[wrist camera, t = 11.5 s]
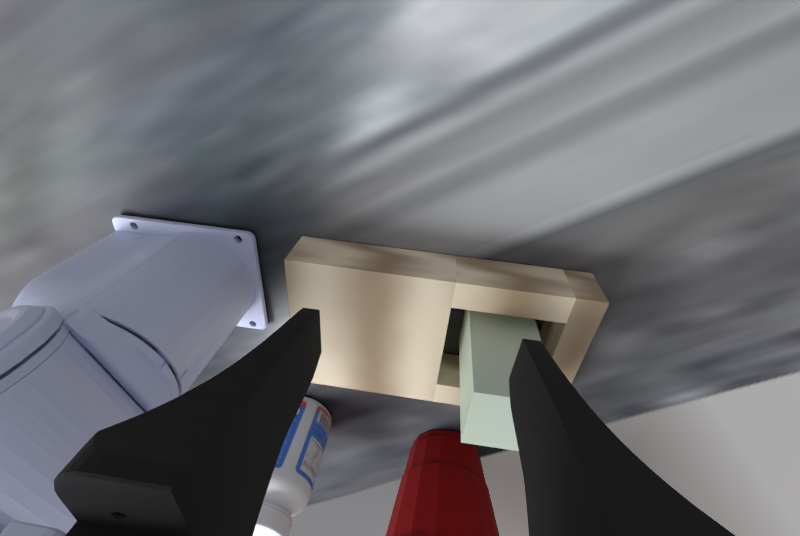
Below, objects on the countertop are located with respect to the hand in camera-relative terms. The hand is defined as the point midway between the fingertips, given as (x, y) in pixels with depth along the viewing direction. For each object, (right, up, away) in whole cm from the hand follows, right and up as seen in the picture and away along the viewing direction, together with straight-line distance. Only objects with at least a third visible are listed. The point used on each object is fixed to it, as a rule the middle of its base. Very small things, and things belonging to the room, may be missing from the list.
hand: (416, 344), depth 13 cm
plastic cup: (+4, -14, +20) cm, 25 cm away
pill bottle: (-9, -10, +20) cm, 24 cm away
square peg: (+6, -1, +12) cm, 13 cm away
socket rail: (+2, -1, +12) cm, 13 cm away
